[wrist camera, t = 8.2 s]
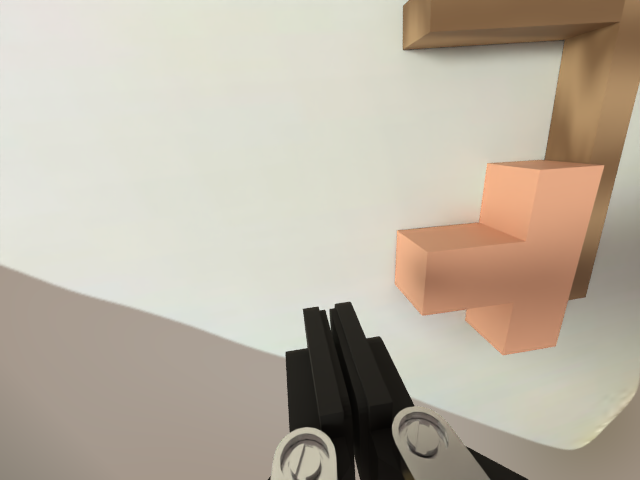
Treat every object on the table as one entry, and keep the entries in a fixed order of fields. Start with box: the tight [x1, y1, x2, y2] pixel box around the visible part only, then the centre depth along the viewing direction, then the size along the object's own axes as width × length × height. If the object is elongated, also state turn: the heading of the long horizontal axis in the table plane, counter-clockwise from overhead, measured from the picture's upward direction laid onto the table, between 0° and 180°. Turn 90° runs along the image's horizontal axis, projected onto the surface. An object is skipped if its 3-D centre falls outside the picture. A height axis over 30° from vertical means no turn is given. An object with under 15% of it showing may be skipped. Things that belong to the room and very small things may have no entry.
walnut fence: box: [403, 0, 640, 300], centre depth 18 cm, size 18×12×3 cm, turn 5°
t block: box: [395, 160, 604, 355], centre depth 19 cm, size 12×10×4 cm
